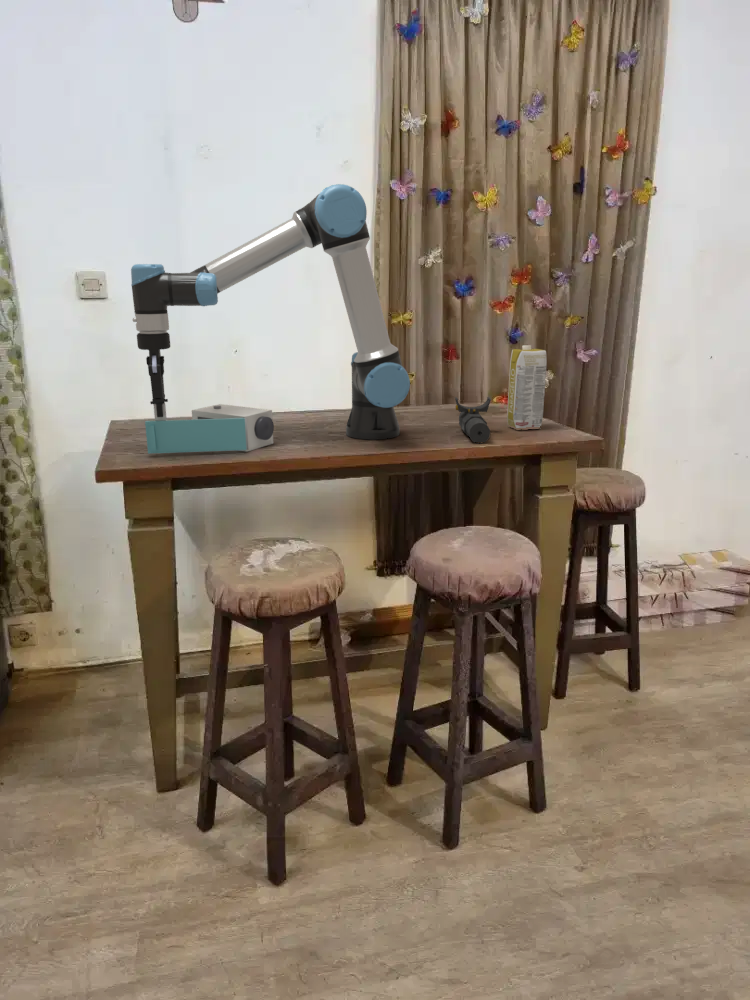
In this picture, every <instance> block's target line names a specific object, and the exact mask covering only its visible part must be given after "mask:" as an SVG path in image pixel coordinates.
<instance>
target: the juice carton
mask: <svg viewBox="0 0 750 1000" xmlns="http://www.w3.org/2000/svg"><path fill="white" fill-rule="evenodd" d="M521 347H522V349H519V348H516V349H515V348H512V350H511V355H510V359H509V360H510V361H509V375H508V377H509V378H508V379H509V380H508V392H507V393H508V394H507V395H508V397H507V412H506V413H507V414H506V416H507V417H506V419H507V426H508V425H510V426H513V427H515V428H526V427H540V426H541V427H542V423H543V417H544V406H545V405H544V404H545V403H544V402H545V391H546V389H545V388H546V376H547V351H546V350H545V349H540V348H532V344H529V345H528V344H527V345H525V344H524V345H522V346H521Z"/></svg>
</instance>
